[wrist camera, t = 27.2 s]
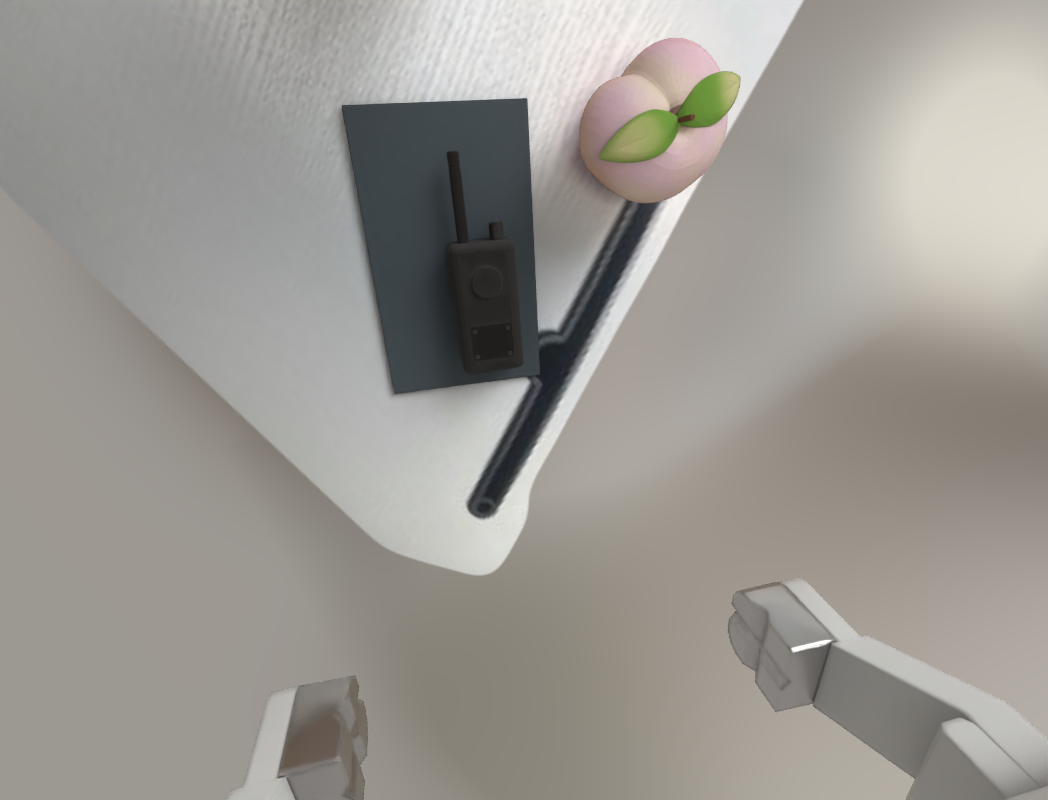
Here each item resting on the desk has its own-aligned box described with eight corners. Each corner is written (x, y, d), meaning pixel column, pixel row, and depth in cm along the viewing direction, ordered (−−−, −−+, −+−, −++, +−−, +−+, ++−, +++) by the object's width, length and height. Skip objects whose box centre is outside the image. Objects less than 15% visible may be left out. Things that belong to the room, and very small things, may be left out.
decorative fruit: (601, 225, 38) (659, 240, 29) (540, 126, 34) (586, 108, 25) (701, 145, 37) (793, 135, 28) (650, 34, 34) (737, -17, 25)
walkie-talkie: (517, 354, 40) (500, 148, 34) (526, 368, 37) (509, 145, 31) (458, 362, 40) (430, 153, 33) (462, 377, 37) (432, 151, 30)
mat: (538, 372, 42) (540, 374, 42) (394, 391, 40) (394, 394, 40) (525, 99, 34) (527, 98, 33) (342, 106, 32) (341, 105, 31)
